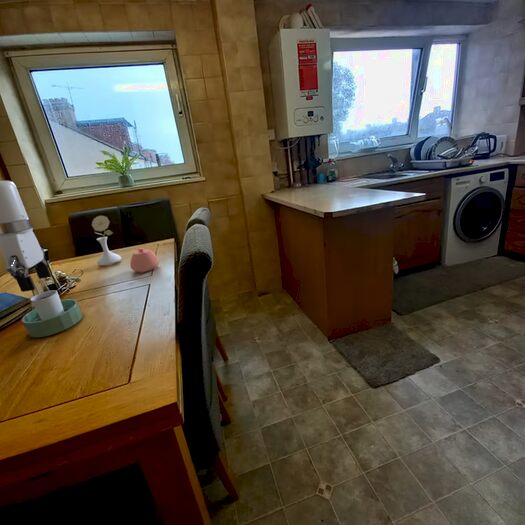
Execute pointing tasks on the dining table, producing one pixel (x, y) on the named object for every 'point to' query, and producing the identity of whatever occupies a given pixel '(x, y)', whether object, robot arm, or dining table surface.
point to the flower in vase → (104, 242)
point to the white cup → (47, 304)
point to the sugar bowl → (143, 260)
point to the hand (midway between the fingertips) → (37, 283)
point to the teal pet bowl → (52, 320)
